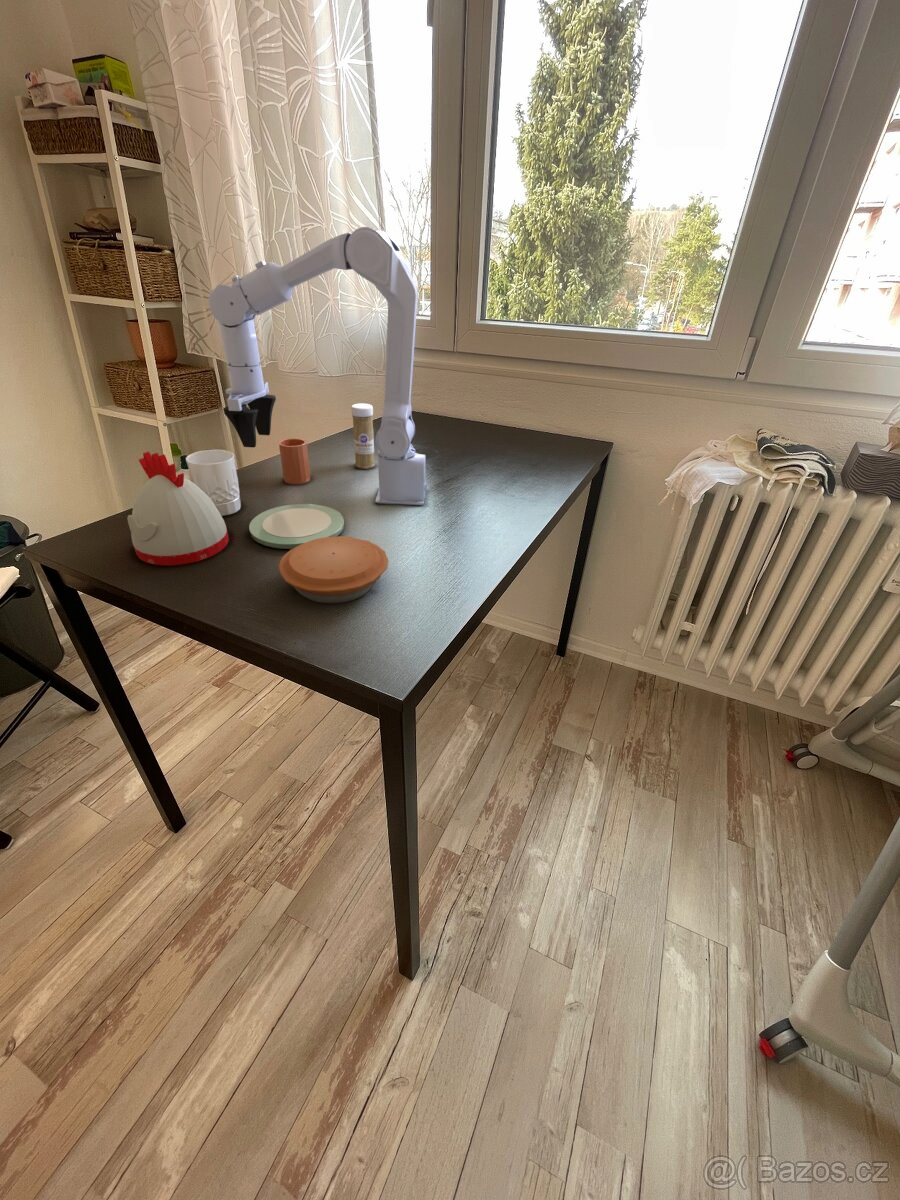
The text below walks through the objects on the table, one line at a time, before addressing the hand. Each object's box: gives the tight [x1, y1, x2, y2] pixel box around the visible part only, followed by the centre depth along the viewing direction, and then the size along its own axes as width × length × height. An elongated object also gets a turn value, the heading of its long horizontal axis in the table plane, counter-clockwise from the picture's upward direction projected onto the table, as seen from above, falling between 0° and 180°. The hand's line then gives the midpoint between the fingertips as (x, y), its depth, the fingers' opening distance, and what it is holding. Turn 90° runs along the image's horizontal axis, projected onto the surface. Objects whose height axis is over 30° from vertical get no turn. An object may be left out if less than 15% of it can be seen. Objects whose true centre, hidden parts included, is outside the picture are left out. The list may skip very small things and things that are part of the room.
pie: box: [278, 535, 389, 604], centre depth 74 cm, size 16×16×5 cm
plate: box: [248, 503, 345, 550], centre depth 89 cm, size 16×16×1 cm
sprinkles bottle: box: [350, 402, 376, 470], centre depth 113 cm, size 5×5×13 cm
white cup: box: [185, 449, 242, 517], centre depth 92 cm, size 8×8×10 cm
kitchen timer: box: [126, 451, 230, 566], centre depth 79 cm, size 14×14×15 cm
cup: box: [278, 437, 311, 485], centre depth 106 cm, size 5×5×8 cm
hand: (257, 440), depth 98 cm, fingers open, 7 cm apart
